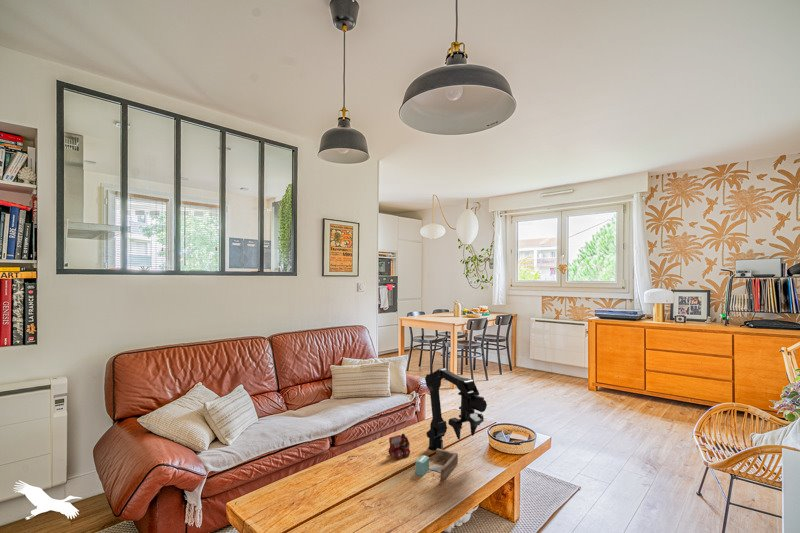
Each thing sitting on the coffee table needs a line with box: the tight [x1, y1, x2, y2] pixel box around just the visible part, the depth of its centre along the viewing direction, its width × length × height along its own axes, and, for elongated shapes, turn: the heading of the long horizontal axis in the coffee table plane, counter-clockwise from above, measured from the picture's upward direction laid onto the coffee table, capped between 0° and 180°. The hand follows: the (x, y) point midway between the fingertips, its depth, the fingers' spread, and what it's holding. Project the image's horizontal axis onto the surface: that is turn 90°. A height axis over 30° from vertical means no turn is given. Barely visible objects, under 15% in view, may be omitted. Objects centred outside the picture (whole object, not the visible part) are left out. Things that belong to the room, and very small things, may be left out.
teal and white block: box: [414, 454, 430, 477], centre depth 181 cm, size 7×4×6 cm, turn 152°
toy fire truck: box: [387, 433, 411, 460], centre depth 197 cm, size 7×12×10 cm, turn 126°
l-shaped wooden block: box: [428, 448, 459, 482], centre depth 184 cm, size 11×19×5 cm, turn 152°
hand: (465, 437), depth 189 cm, fingers open, 9 cm apart
